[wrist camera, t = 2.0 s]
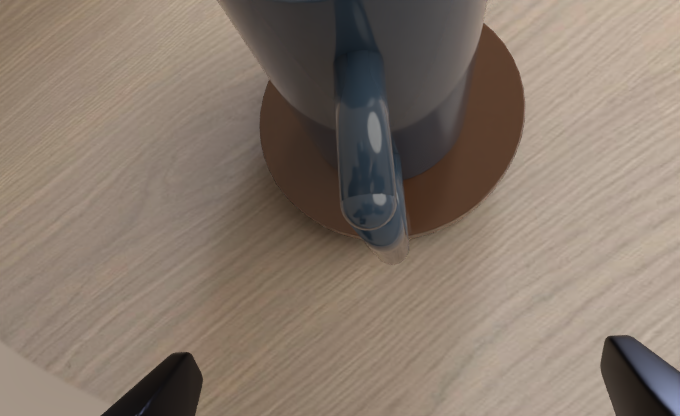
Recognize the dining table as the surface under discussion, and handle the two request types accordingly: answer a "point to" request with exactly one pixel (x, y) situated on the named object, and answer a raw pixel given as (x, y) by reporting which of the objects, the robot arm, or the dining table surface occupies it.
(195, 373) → the robot arm
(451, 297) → the dining table surface
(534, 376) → the dining table surface
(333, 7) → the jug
